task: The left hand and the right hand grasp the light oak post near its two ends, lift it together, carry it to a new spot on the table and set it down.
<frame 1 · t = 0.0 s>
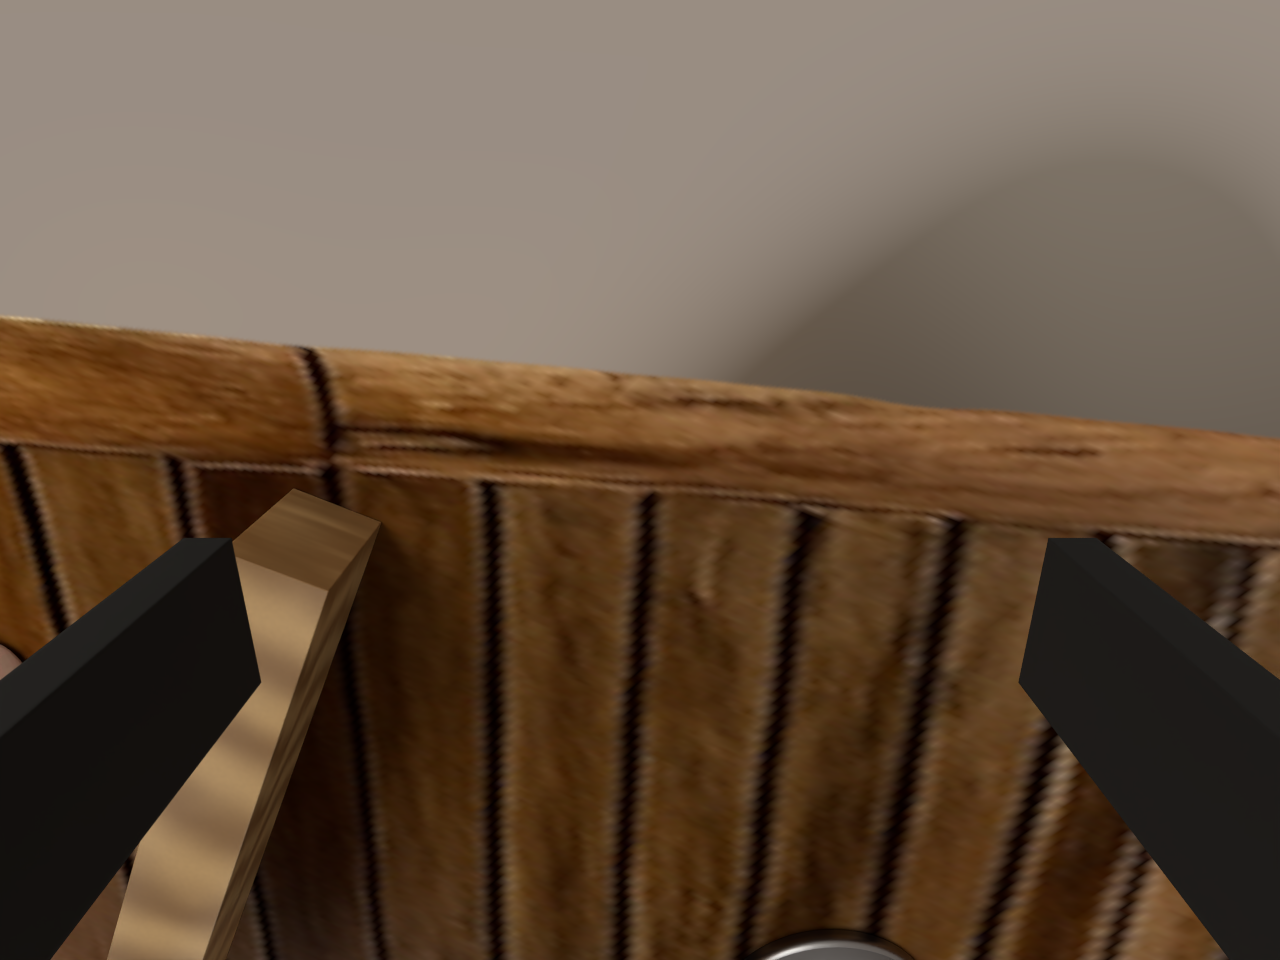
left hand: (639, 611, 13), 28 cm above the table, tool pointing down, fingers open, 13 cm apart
post: (226, 841, 51), on the table
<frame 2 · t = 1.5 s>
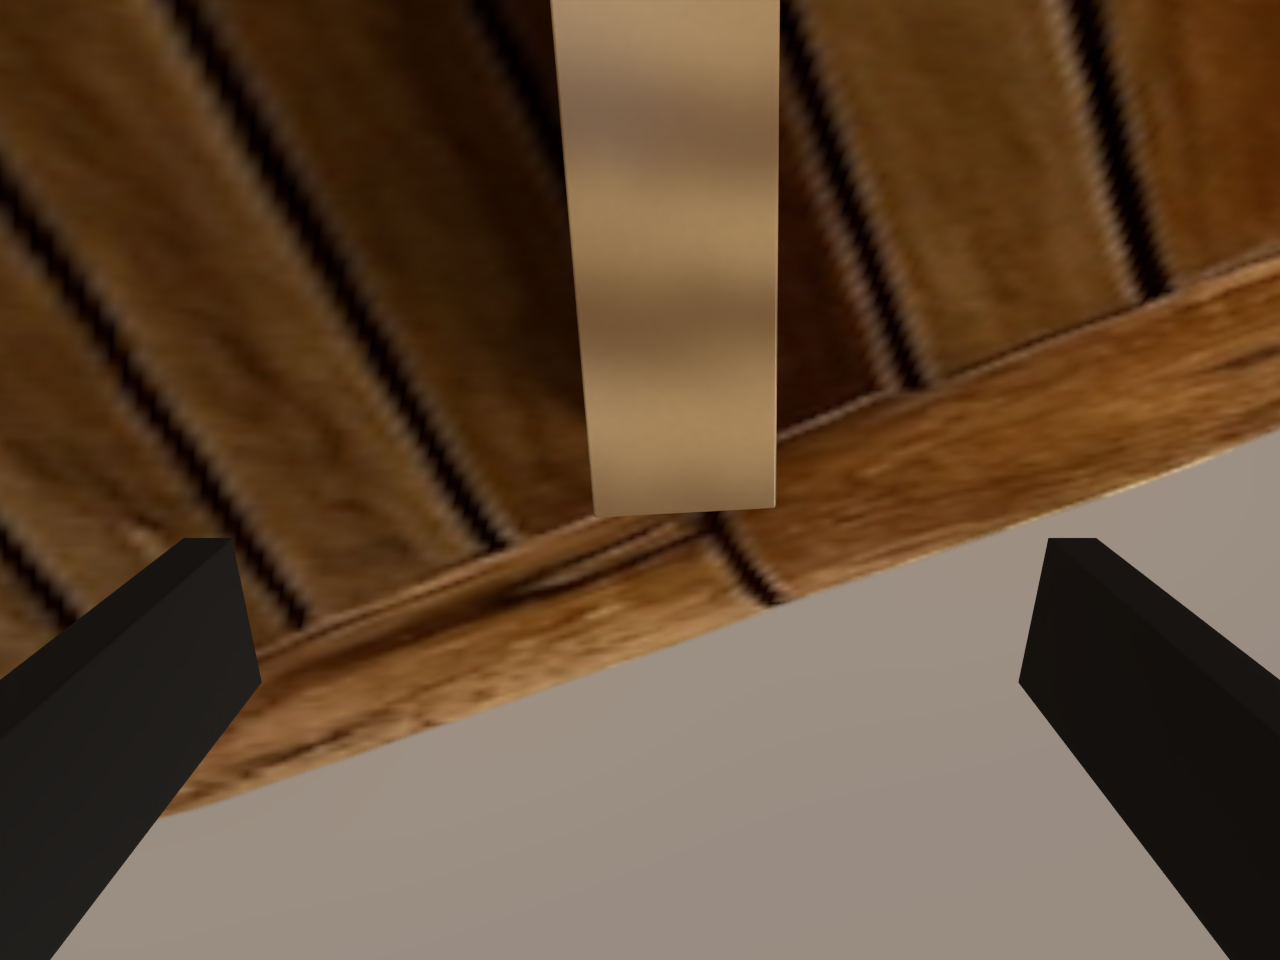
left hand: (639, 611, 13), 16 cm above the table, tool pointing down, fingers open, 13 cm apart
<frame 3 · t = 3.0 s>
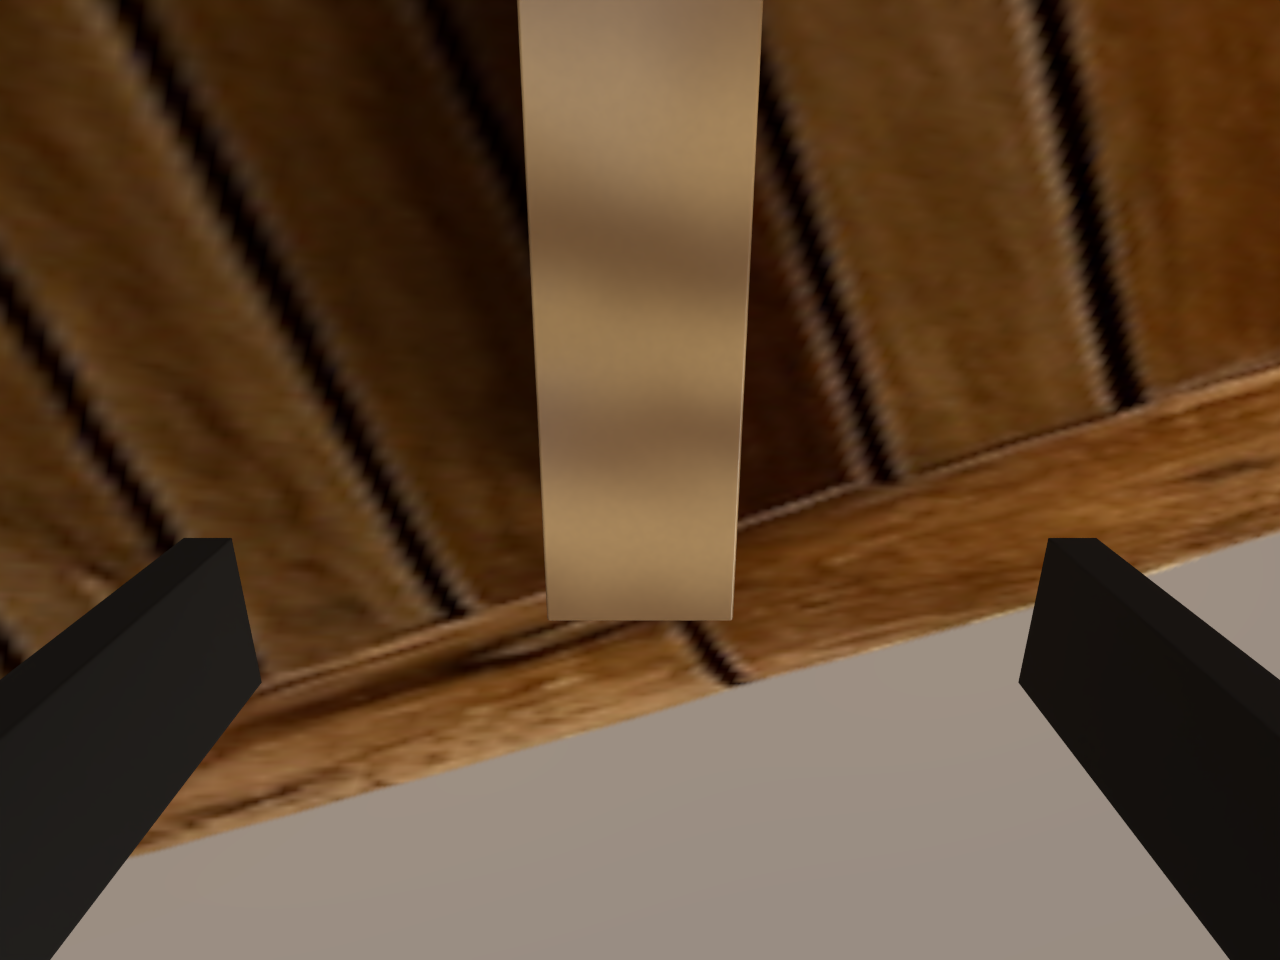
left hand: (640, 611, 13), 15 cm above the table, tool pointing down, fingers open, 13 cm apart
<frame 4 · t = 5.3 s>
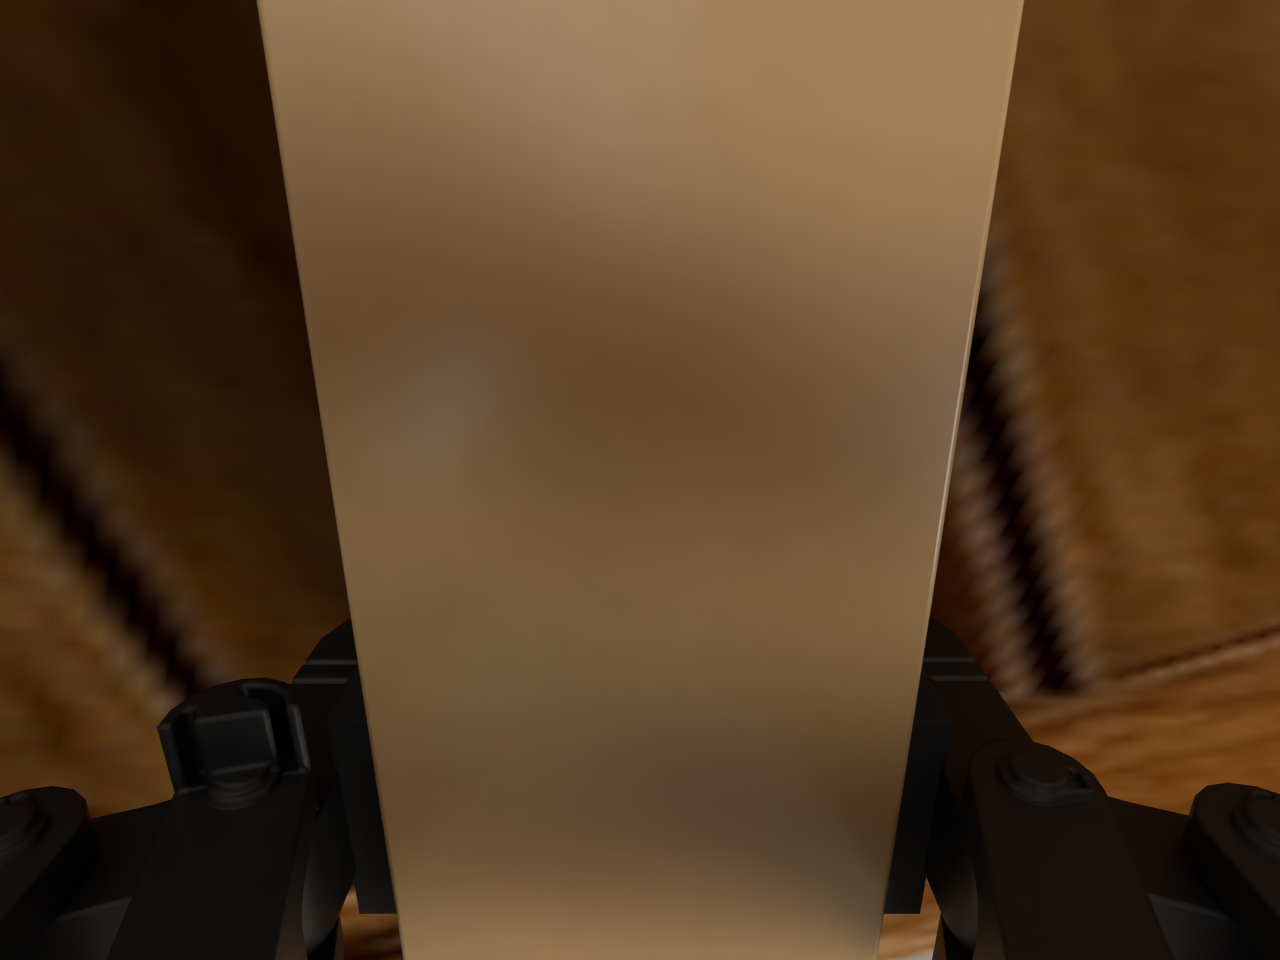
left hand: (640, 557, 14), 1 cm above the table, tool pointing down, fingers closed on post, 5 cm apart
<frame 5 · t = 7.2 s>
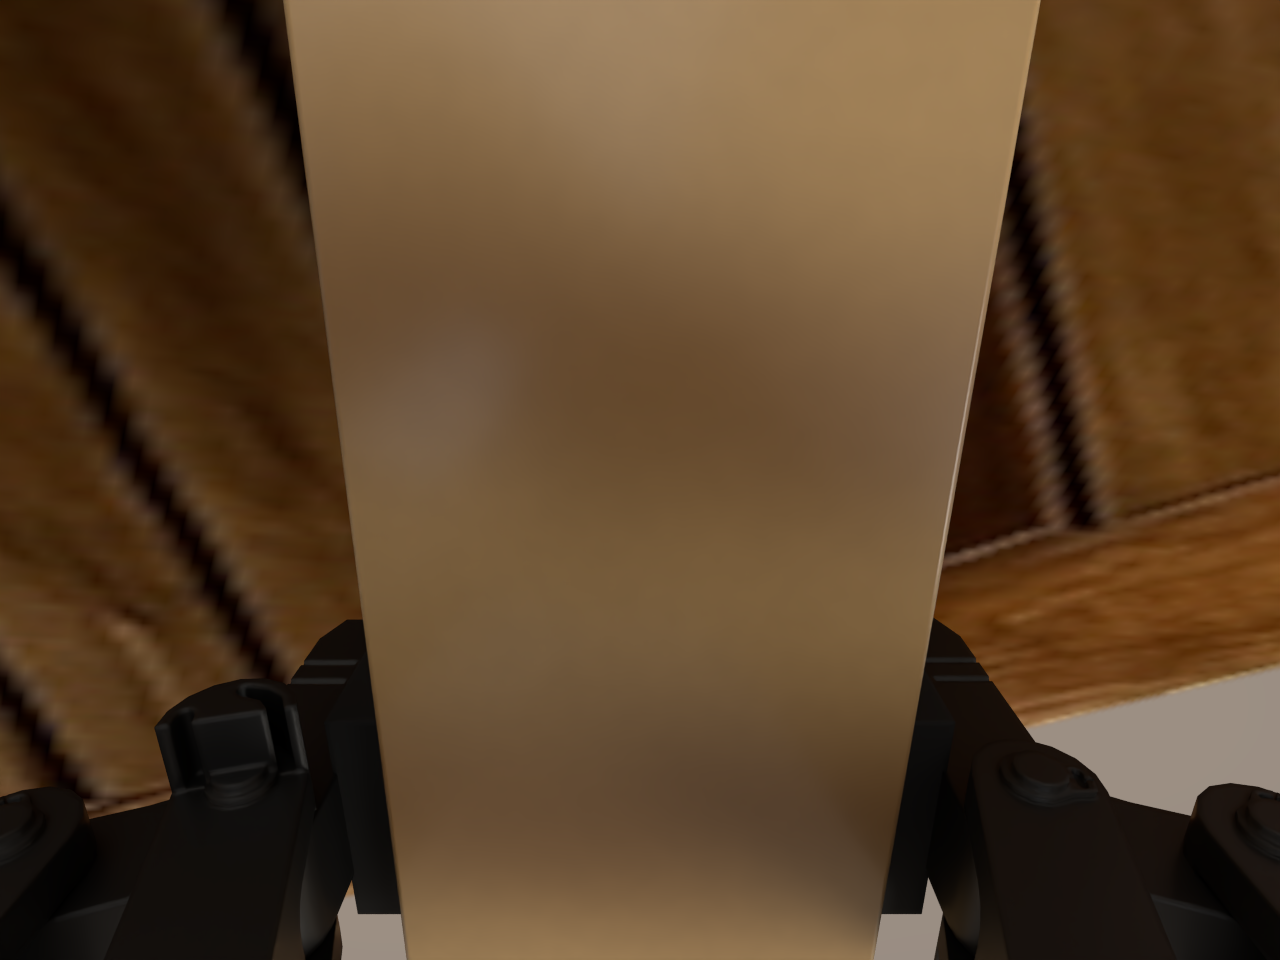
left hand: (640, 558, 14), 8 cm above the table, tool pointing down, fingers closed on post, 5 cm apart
when the left hand's fingers open (2 cm above the table, at t = 9.4 s): post drops 2 cm, on the table.
when the right hand's fingers open (5 cm above the table, at t = 9.6 s): post stays where it is, on the table.
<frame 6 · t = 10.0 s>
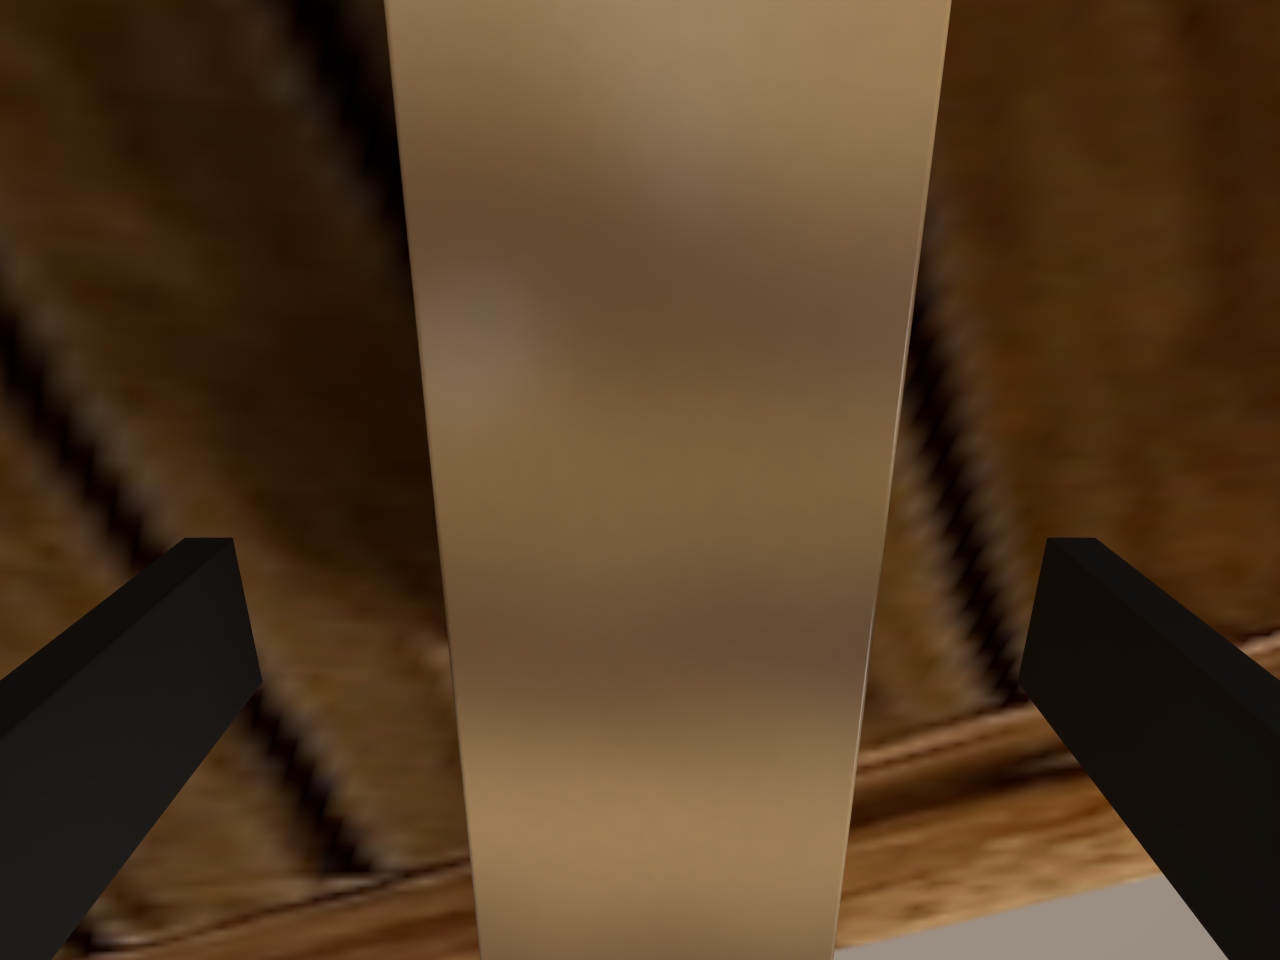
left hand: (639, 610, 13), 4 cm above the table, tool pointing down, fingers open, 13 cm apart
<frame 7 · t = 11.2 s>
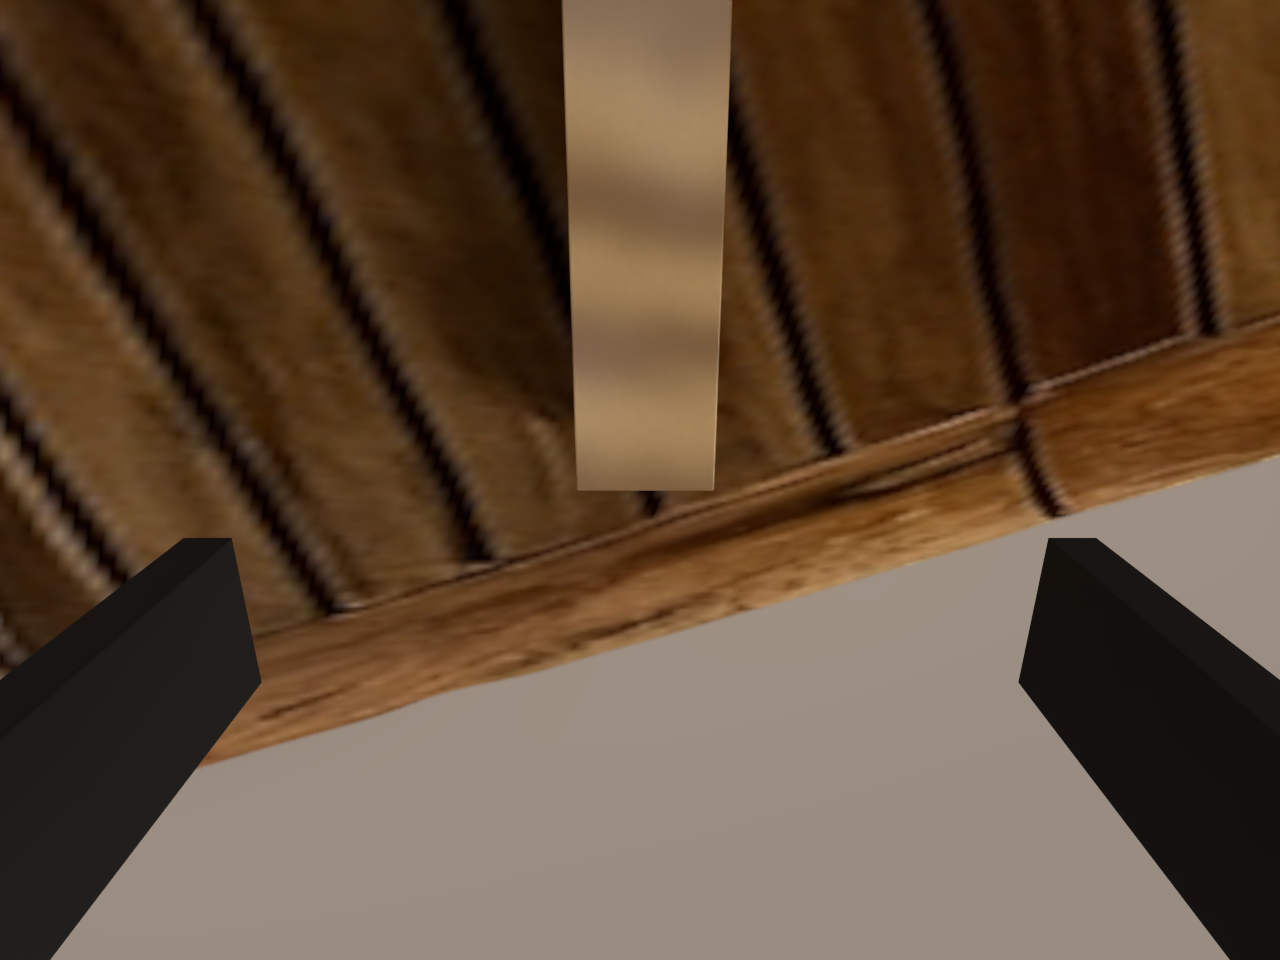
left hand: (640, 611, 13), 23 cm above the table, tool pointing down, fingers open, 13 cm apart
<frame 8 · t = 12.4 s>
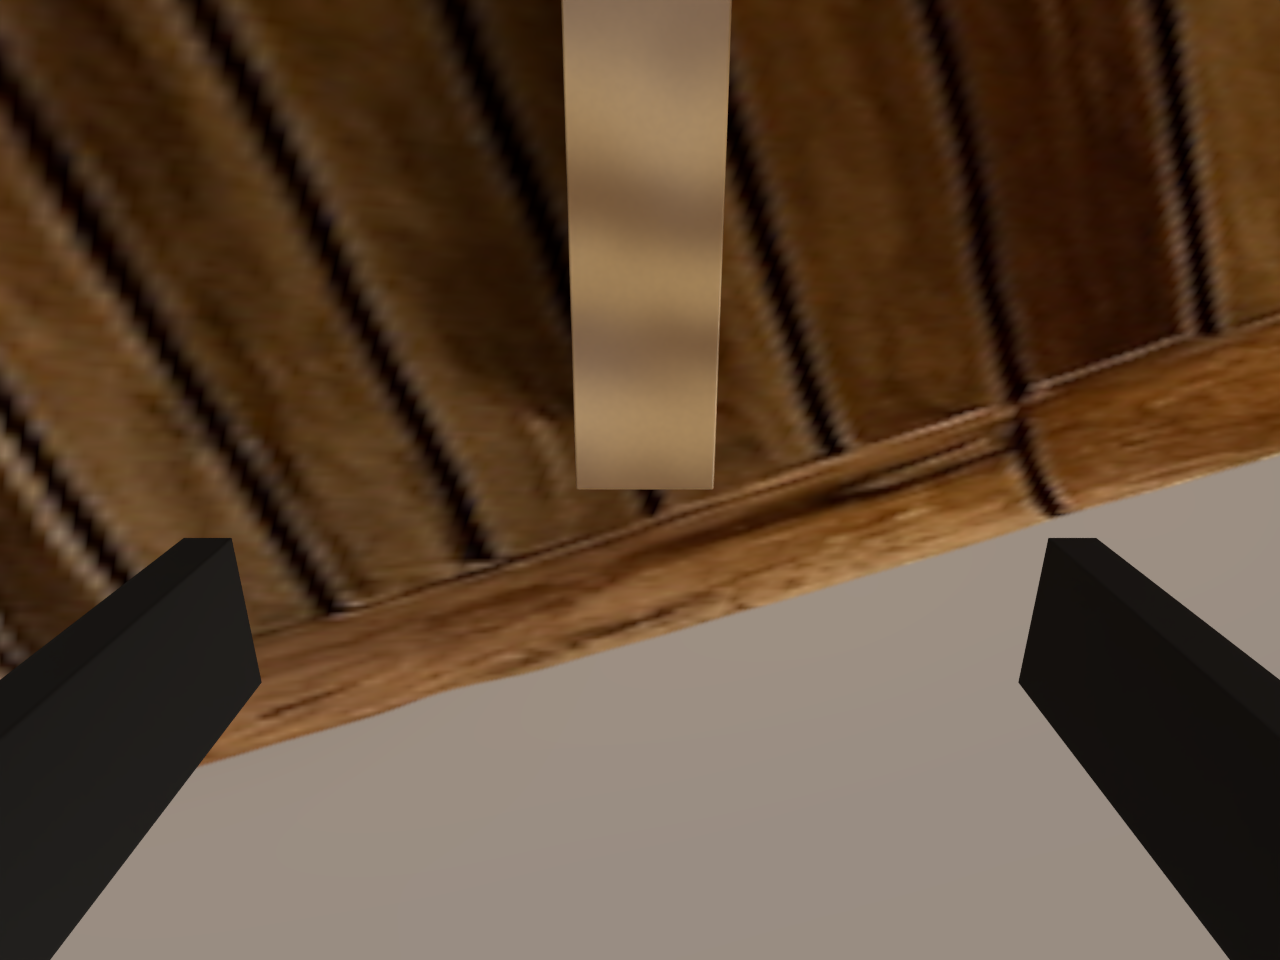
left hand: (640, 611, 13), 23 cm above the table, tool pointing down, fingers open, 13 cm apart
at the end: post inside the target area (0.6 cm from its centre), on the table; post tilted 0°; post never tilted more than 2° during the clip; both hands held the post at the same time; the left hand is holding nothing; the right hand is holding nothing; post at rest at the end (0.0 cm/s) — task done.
